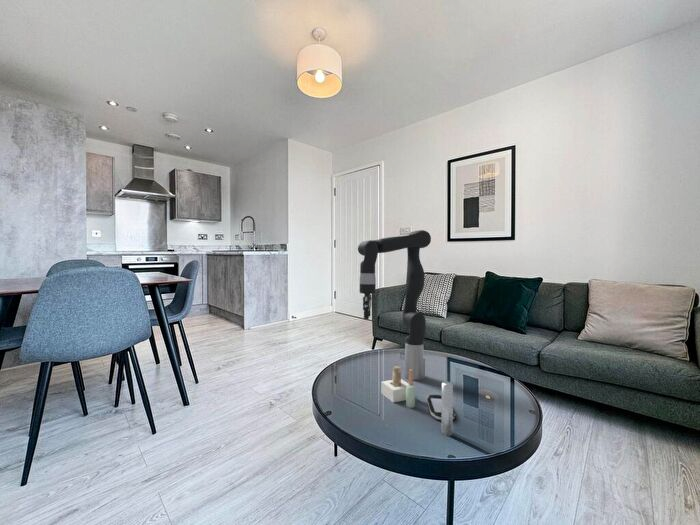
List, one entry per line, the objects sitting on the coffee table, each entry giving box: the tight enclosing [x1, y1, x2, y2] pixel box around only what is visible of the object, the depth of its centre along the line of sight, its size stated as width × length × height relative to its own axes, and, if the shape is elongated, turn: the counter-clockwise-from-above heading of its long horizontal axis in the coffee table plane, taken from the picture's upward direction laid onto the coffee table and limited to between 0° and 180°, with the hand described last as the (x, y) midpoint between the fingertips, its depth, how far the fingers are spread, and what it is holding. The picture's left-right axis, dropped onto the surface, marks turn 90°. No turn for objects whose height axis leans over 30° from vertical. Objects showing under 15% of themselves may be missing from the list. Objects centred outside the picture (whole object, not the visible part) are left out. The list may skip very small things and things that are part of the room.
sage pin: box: [405, 385, 416, 409], centre depth 117 cm, size 4×4×8 cm
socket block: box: [380, 369, 414, 403], centre depth 126 cm, size 10×10×12 cm
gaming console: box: [426, 394, 457, 422], centre depth 114 cm, size 19×9×2 cm, turn 172°
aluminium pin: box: [440, 380, 454, 437], centre depth 98 cm, size 4×4×16 cm
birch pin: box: [392, 365, 402, 387], centre depth 126 cm, size 4×4×12 cm
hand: (367, 317), depth 136 cm, fingers open, 8 cm apart
